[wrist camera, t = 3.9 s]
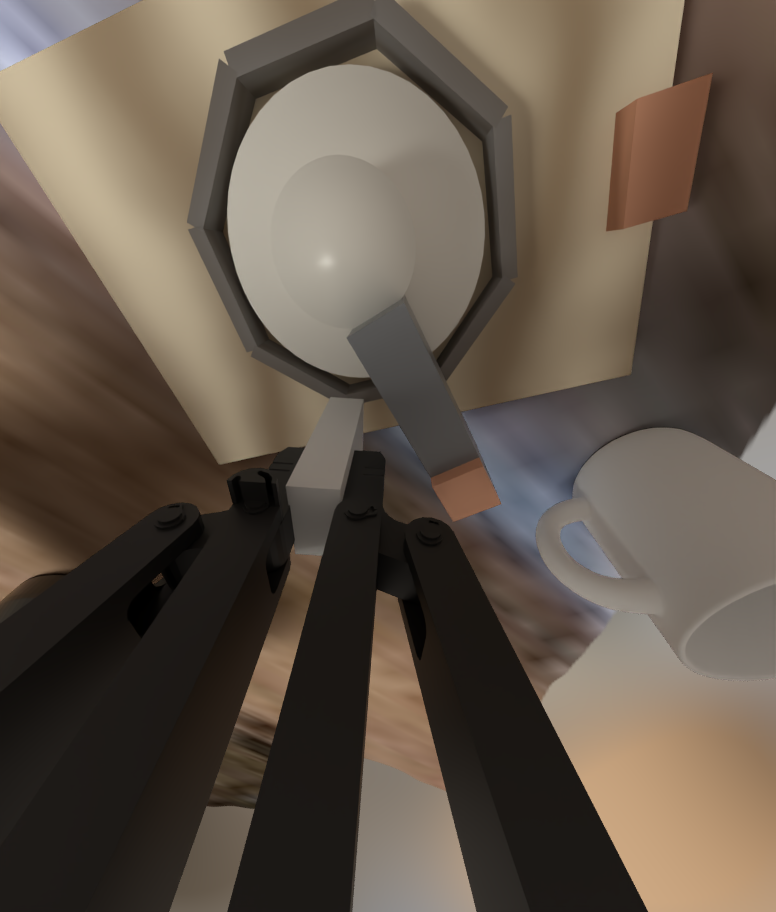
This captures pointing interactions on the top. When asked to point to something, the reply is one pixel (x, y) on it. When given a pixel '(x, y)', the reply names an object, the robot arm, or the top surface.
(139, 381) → the top surface
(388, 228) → the dial
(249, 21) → the board
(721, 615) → the mug
